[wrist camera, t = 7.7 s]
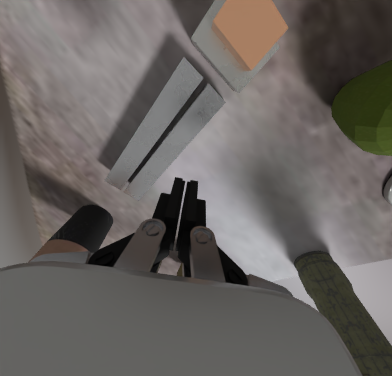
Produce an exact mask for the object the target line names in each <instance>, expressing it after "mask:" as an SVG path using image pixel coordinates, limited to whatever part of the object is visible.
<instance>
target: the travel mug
mask: <svg viewBox="0 0 392 376" xmlns="http://www.w3.org/2000/svg"><path fill="white" fill-rule="evenodd" d="M112 224H113V218H112V216H111V215H110V213H108V212H107V211H106V210H105V209H103V208H101V207H98V206H94V205H86V206H83V207H82V208H80V209H79V210H78V211H77V212H76V213H75V214H74V215H73V216H72V217H71V218H70V219H69V220H68V221H67V222H66V223H65V224H64V225H63V226H62V227H61V228H60V229H59V230H58V231H57V232H56V233H55V234H54V235H53V236H52V237H51V238H50V239H49V240H48V241H47V243H45V245H44V246H43V247H42V248H41V249H40V250H39V251H38V252H37V253H36V255H35V256H34V257H33V258H32V259H31V260H33V259H34V258H36V257H38V256H40V255H44V254H51V253H67V252H83V251H90V253H95V252H96V251H98V250H99V248H100V246H101V244H102V242H103V240H104V239H105V237H106V235H107V233H108V231H109V230H110V228H111V226H112ZM31 260H30V261H31ZM30 261H29V262H30Z"/></svg>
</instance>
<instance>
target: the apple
mask: <svg viewBox="0 0 392 376" xmlns="http://www.w3.org/2000/svg"><path fill="white" fill-rule="evenodd" d="M331 110H332V117H333V119H334V120H335V122H336V123H337V125H338V126H339V128H340V129H341V131H342V132H343V133H344V134H345V135H346V136H347V137H348V139H350V140H351V141H352V142H353V143H355V144H356V145H357V146H358V147H360V148H361V149H362V150H363V151H366V152H370V153H373V154H376V155H388V156H392V60H390V61H388V62H386V63H384V64H382V65H380V66H377V67H375V68H373V69H371V70H369V71H367V72H365V73H363V74H361V75H359V76H357V77H355V78H353V79H352V80H351V81H349V82H348V83H347V84H346V85H345V86H344V87H342V89H341V90H340V91H339V93H338V94H337V95H336V97H335V98H334V101H333V104H332V107H331Z"/></svg>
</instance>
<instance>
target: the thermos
mask: <svg viewBox="0 0 392 376" xmlns="http://www.w3.org/2000/svg"><path fill="white" fill-rule="evenodd" d="M294 266H295V268H296V269H297V271H298V275H299V277H300V280H301V282H302V284H303V285H304V287H305V290H306V292H307V294H308V295H309V296H310V297H311V298H312V299H313V300H314V302H315V304H316V307H317V309H318V310H319V312H320V313H321V314H322V315H323V316H324V317H325V318H326V319H327V320H328V321H329V322H330V323H331V324H332V326H333V327H334V329H335V330H336V331H337V333H338V334H339V336H340V337H341V339H342V341H343V342H344V344H345V346H346V347H347V349H348V351H349V352H350V354H351V356H352V358H353V359H354V361H355V363H356V365H357V366H358V368H359V370H360V372H361V374H362V376H392V346H391V344H390V343H389V341H388V340H387V339H386V337H385V336H384V334H383V333H382V332H381V330H380V329H379V327H378V326H377V324H376V323H375V322H374V320H373V319H372V317H371V316H370V314H369V313H368V312H367V310H366V309H365V307H364V306H363V304H362V303H361V302H360V300H359V299H358V297H357V296H356V295H355V293H354V291H353V288H352V284H351V283H350V281H349V280H348V278H347V277H346V276H345V274H344V273H343V272H342V270H341V269H340V267H339V266H338V265H337V263H335V262H334V261H333V259H332V257H331V256H330V255H329V254H328V253H326V252H323V251H313V252H308V253H306V254H303V255H301V256H299V257H298V258H297V259H296V260H295V262H294Z"/></svg>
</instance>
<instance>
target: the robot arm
mask: <svg viewBox="0 0 392 376" xmlns="http://www.w3.org/2000/svg"><path fill="white" fill-rule="evenodd" d="M182 180H183V179H182V178H176V177H175V180H174V184H173V187H172V191H171V194H166V193H161V195H160V198H159V201H158V203H157V206H156V209H155V212H154V214H153V217H152V219H148V220H145V221H144V222H142V224H141V225H140V226H139V228H138V229H137V231H136V232H135V233H133V234H131V235H129V236H127V237H125V238H123V239H121V240H118V241H116V242H114V243H112V244H110V245H108V246H106V247H104V248H101V249H99V250H98V251H96V252H95V253H90V251H83V252H67V253H51V254H44V255H40V256H38V257H36V258H34V259H33V260H31V261H30V262H28V263H22V264H16V265H12V266H7V267H3V268H0V376H362V374H361V372H360V370H359V368H358V366H357V365H356V363H355V361H354V359H353V358H352V356H351V354H350V352H349V351H348V349H347V347H346V346H345V344H344V342H343V341H342V339H341V337H340V336H339V334H338V333H337V331H336V330H335V329H334V327H333V326H332V324H331V323H330V322H329V321H328V320H327V319H326V318H325V317H324V316H323V315H322V314H321V313H320V312H318V311H317V310H316V309H314V308H312V307H311V306H310V305H308V304H306V303H304V302H303V301H301V300H299V299H297V298H295V297H293V295H292V294H291V292H289V291H288V290H287V289H286V288H284V287H283V286H280V285H278V284H275V283H273V282H270V281H267V280H265V279H262V278H259V277H257V276H254V275H251V274H249V275H246V274H245V273H244V272H243V270H242V269H241V268H240V267H239V266H238V265H237V264H236V263H235V262H233V261H232V260H231V259H230V258H229V257H228V256H227V255H226V254H225V253H224V252H223V251H222V250H221V249H220V248H219V247H218V246H217V244H216V240H215V236H214V233H213V232H212V231H211V230H210V229H209V228H207V227H206V202H205V200H200V199H197V191H198V181H193V180H191V181H190V182H187V187H186V192H185V197H184V202H183V208H182V213H181V220H180V226H179V232H178V238H177V244H176V251H179V252H178V258H179V259H180V260H181V261H182V274H183V277H182V276H174V275H167V274H160V273H158V270H159V268H160V265H161V262H162V260H163V259H164V258H166V257H167V256H168V255H169V250H172V251H173V247H174V241H175V236H176V230H177V225H178V219H179V214H180V208H181V202H182V196H183V191H184V185H185V181H182ZM384 198H385V200H386V201H387V202H388V203H390V204H391V205H392V176H391V177H390V179H389V180H388V181H387V183H386V185H385V188H384Z"/></svg>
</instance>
